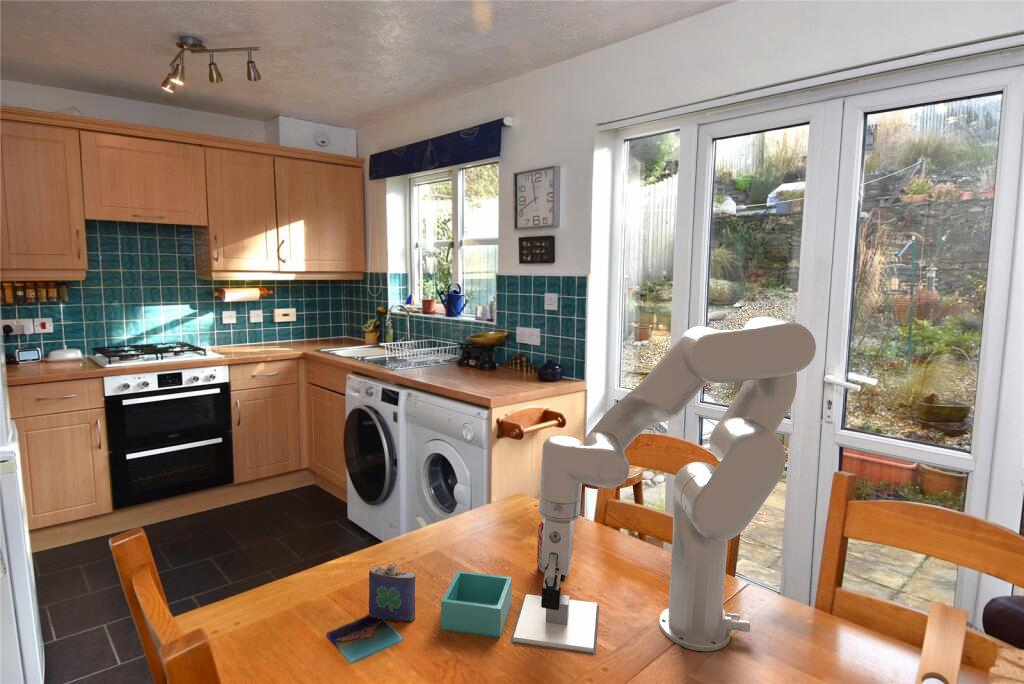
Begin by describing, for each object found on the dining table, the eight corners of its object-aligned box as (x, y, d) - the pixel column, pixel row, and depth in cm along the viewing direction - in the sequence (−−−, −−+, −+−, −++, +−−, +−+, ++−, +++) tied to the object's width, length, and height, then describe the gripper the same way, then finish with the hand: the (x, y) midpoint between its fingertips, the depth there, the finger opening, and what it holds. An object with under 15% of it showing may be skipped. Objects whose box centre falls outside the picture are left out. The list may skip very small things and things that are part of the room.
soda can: (567, 582, 124) (569, 529, 123) (534, 578, 125) (535, 525, 124) (570, 566, 131) (572, 515, 129) (539, 562, 132) (540, 512, 131)
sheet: (596, 606, 115) (597, 583, 114) (593, 652, 101) (594, 626, 100) (526, 598, 117) (526, 575, 117) (513, 641, 104) (513, 616, 103)
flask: (417, 616, 111) (417, 563, 110) (411, 625, 108) (411, 570, 107) (372, 609, 113) (371, 557, 112) (365, 618, 110) (364, 564, 109)
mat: (599, 608, 115) (599, 605, 115) (595, 657, 100) (595, 654, 100) (524, 598, 118) (524, 596, 118) (510, 645, 103) (510, 642, 103)
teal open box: (511, 605, 115) (512, 577, 114) (500, 640, 105) (500, 608, 104) (457, 598, 117) (457, 570, 116) (440, 632, 107) (441, 601, 106)
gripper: (576, 528, 97) (569, 624, 99) (583, 490, 114) (577, 573, 116) (531, 522, 98) (525, 617, 101) (545, 485, 115) (539, 567, 117)
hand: (553, 593), depth 108 cm, fingers open, 9 cm apart
